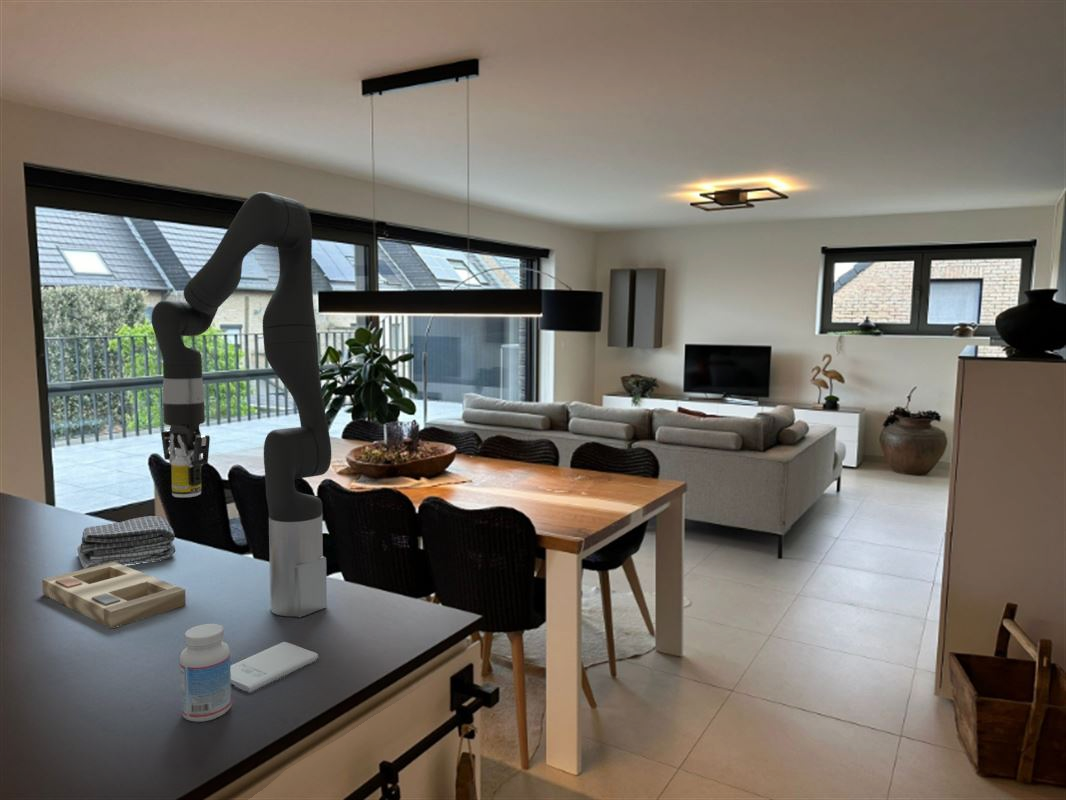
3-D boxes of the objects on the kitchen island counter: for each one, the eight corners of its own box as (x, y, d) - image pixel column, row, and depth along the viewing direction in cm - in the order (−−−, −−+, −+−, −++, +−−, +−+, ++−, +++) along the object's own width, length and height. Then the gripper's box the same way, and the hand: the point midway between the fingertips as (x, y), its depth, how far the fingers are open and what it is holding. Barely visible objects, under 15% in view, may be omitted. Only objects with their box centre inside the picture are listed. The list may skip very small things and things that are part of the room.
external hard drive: (318, 663, 112) (249, 697, 101) (283, 650, 116) (213, 681, 105) (318, 653, 111) (249, 686, 101) (283, 640, 116) (213, 670, 105)
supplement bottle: (193, 498, 144) (192, 449, 143) (166, 497, 144) (165, 449, 143) (206, 492, 149) (205, 445, 148) (180, 491, 149) (179, 445, 148)
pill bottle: (241, 704, 98) (239, 625, 97) (207, 727, 92) (205, 643, 91) (206, 696, 100) (203, 618, 99) (170, 718, 94) (168, 635, 93)
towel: (177, 560, 158) (176, 525, 157) (79, 574, 148) (77, 537, 147) (168, 542, 171) (167, 510, 170) (77, 554, 160) (75, 520, 160)
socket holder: (185, 605, 132) (185, 587, 132) (111, 628, 121) (111, 610, 121) (114, 576, 147) (114, 560, 146) (43, 594, 136) (42, 577, 136)
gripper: (221, 401, 144) (224, 484, 145) (182, 397, 152) (184, 476, 153) (185, 404, 138) (188, 491, 139) (146, 399, 146) (149, 481, 147)
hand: (186, 482), depth 146 cm, fingers closed on supplement bottle, 5 cm apart
